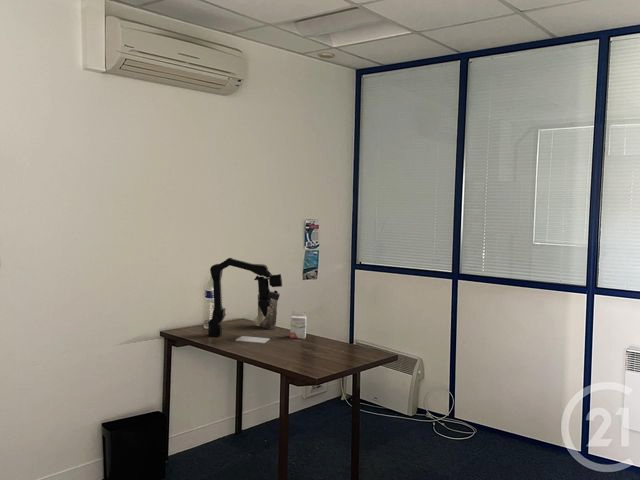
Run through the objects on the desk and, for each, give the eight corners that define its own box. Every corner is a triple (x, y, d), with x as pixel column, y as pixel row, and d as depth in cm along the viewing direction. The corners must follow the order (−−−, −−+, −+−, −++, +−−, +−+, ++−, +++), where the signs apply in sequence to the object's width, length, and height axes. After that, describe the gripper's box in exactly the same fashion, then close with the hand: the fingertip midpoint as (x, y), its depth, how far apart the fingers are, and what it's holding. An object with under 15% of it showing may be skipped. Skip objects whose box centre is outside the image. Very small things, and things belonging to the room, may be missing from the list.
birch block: (253, 322, 336) (268, 304, 336) (253, 320, 341) (269, 302, 341) (258, 326, 337) (273, 308, 337) (258, 324, 342) (273, 306, 342)
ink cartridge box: (289, 337, 342) (290, 311, 341) (291, 335, 347) (291, 310, 346) (305, 338, 342) (305, 312, 341) (306, 336, 347) (307, 310, 346)
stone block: (255, 326, 370) (256, 293, 368) (264, 324, 375) (265, 292, 373) (269, 330, 360) (270, 296, 359) (278, 328, 365) (279, 295, 364)
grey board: (235, 340, 331) (235, 339, 331) (242, 336, 340) (242, 336, 340) (263, 343, 327) (263, 342, 327) (269, 339, 337) (269, 338, 337)
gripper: (278, 289, 329) (280, 317, 330) (278, 284, 348) (280, 311, 349) (257, 290, 329) (259, 319, 330) (258, 285, 347) (260, 313, 348)
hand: (265, 315), depth 339 cm, fingers closed on birch block, 5 cm apart
